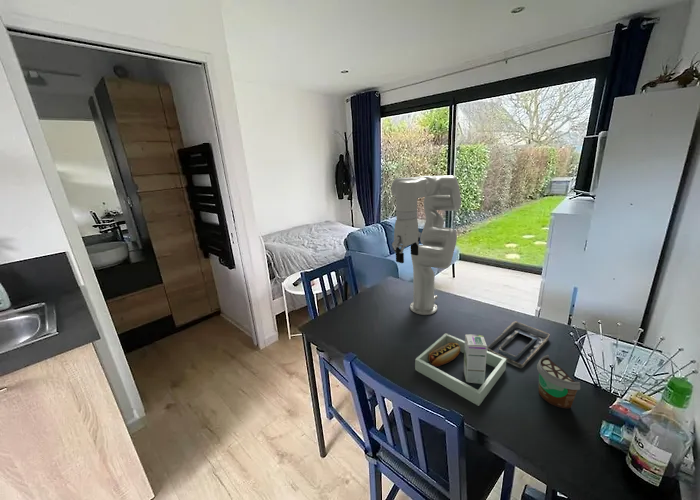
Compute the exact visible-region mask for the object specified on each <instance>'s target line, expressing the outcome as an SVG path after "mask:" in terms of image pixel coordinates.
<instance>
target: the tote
mask: <svg viewBox="0 0 700 500" xmlns="http://www.w3.org/2000/svg"><path fill="white" fill-rule="evenodd" d="M448 343H458V344H459V347H460V353H463V354H464V348H465V340H463V339H461V338H458V337H457V336H453V335H451V334H449V333H444V334H443V335H441V337H439V338H438V339H437V340H436V341H435V342H433V343H432V344H431V345H430V346H428V348H426V349H425V350H424V351H423V352H422V353H421V354H420V355H418V356H417V357H416V358H415V359H414V360H415V362H414V368H415V369H414V371H416V372H418V373H419V374H422V375H423V376H425V377H427V378H429V379H430V380H432V381H433V382H436V383H437V384H439V385H442V386H443V387H444V388H446V389H448V390H450V391H451V392H453V393H455V394H457V395H459V396H460V397H462V398H464V399H466V400H467V401H469V402H470V403H473V404H474V405H476V406H477V407H478V406H481V404H482V402H483V401H484V400H485V398H486V397H487V395H489V393H490V392H491V390H492V389H493V387H494V386H495V385H496V383H497V382H498V381H499V380H500V378H501V377H502V376H503V374H504V373H505V371H506V369H507V368H506V367H507V362H506V360H507V359H506V358H507V357H506V358H503V357H501V356H499V355H496V354H494V353H491V352H489V351H488V350H487V354H486V365H488V366H491V367H493V368H494V369H493V370H492V372H491V373H490V374H489V375H488V377H487V378H486V379H485V381H484V383H483V384H481V386H480V387H479V388H478V389H477V388H476V387H473V386H472V385H469V384H467V382H464V381H462V380H460V379H458V378H456V377H454V376H452V375H451V374H449V373H447V372H445V371H444V370H441V369H440V368H437V366H433V365H432V364H431V363H429V362H430V361H429V354H430V353H431V352H433V351H435V350H437V349H439V348H440V347H442V346H444V345H446V344H448Z"/></svg>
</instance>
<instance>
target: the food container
mask: <svg viewBox="0 0 700 500" xmlns="http://www.w3.org/2000/svg"><path fill="white" fill-rule="evenodd" d="M536 369H537V371H538V373H539V374H538V393H539V396H540V397H541V398H542V399H543V400H544V401H546V402H547V403H548V404H550V405H552V406H555V407H556V408H557V407H558V408H561V409H571V408H572V406H573V403H574V400H575V399H576V394H577V393H578V391H580V390H581V381H575V380H574V379H573V378H571V376H569V374H568V373H567V372H566V371H565V370H564V369H563V368H562V367H561V366H559V365H557V364H556V363H555V362H553V361H552V360H551V359H550V355H549V354H547V355H544V356H542V357H541V358H540V359H539V360H538V363H537V364H536Z"/></svg>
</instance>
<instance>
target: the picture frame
mask: <svg viewBox="0 0 700 500" xmlns="http://www.w3.org/2000/svg"><path fill="white" fill-rule="evenodd" d="M516 328H517V329H518V330H515V329H516ZM513 330H514V332H513ZM521 330H522V331H525V332H526V333H527V334H526V333H523V332H519V331H521ZM511 332H513V333H512V334H510V333H511ZM519 334H521V335H523V336H526V337H528V338H530V339H531V340H530V341H529V343H528V344H526V345H525V346H524V348H522V350H520V351H519V353H517V355H514V354H512V353H509V352H507V351H505V350H503V349H504V348H505V347H507V345H508V344H510V343H511V342H512V341H513V340H514V339H515V337H517V336H518V335H519ZM528 334H529V335H528ZM507 335H508V336H507ZM550 335H551V334H550V333H548V332H546V331H543V330H541V329H537V328H535V327H533V326H529V325H527V324H525V323H522V322H518V321H516V320H514V321H513V322H511V323H510V325H508V326H507V327H506V328H505V329H504V330H503V332H502V333H501V335H500V334H499V336H498V337H496V338H495V339H494V340H493V342H492V343H490V344H488V345H487V351H489V352H491V353H494V354H496V355H499V356H501V357H503V358H506V359H507V360H506V363H508V364H511V365H512V366H514V367H516V368H519V369H522V368H524V367H525V366H526V365H527V364H528V362H529V361H531V359H533V357H534V356H535V355H536V354H537V353H538V352H539V351H540V350H541V349H542V348H543V346H544V345H545V344H546V343H547V342H548V341H549V337H550ZM534 336H535V337H534ZM504 338H505V339H504ZM538 339H540V341H537V340H538ZM501 340H502V341H501ZM499 342H501V344H498V343H499ZM536 342H537V345H534V346H533V348H535V349H530V350H529V348H531V346H532V345H533V344H534V343H536ZM496 345H498V348H497V349H496V350H498V352H495V351H494V350H492V348H494V347H495V346H496ZM527 350H529V352H530V355H529V356H527V357H526V359H525V361H524V362H523V363H522V364H521V363H520V362H517V360H519V358H520V357H521V356H522V355H523V354H525V352H526V351H527ZM523 357H524V358H525V355H524V356H523Z"/></svg>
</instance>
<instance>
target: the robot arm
mask: <svg viewBox="0 0 700 500" xmlns="http://www.w3.org/2000/svg"><path fill="white" fill-rule="evenodd" d="M390 191H391V193H392V195H393V196H394V197H395V198H396V199H395V205H396V206H395V207H396V208H395V209H396V212H395V213H396V219H395V223H394V231H393V242H392V243H391V246H392V248H393V249H392V250H393V251H394V253H395V262H397V263H399V264H404V263H405V259H404V258H405V254H404V250H405V248H406V247H408V246H410V257H411V263H412V270H413V272H412V275H413V276H412V277H413V279H412V281H413V282H412V283H413V286H412V287H413V289H412V290H413V291H412V293H413V294H412V297H413V298H412V300H413V301H412V302H411V303H410V305H409V309H410V311H412V312H413V313H414V314H417V315H421V316H427V315H428V316H429V315H433V314H435V313H436V312H437V311H438V305H437V304H436V303H435V301H436V300H438V299H439V296H438V295H437V294H435V272H434V270H433V268H435V269H442V270H443V269H444V270H445V269H448V268H449V267H450V266H451V265H452V264H451V263H452V261H453V256H454V253H455V249H456V245H457V241H458V239H457V238H458V237H457V231H456V230H455V229H454V228H452V227H445V226H444V225H445V221H444V219H443V217H442V215H441V214H440V213H439V212H438V211H444V212H445V211H448V212H450V211H452V212H453V211H457V210H459V209H460V207H461V206H462V205H461V204H462V197H461V191H460V186H459V182H458V179H457V178H456V177H455V176H454V175H451V174H449V175H420V176H419V175H418V176H413V177H412V176H411V177H410V176H409V177H408V176H407V177H396V178H395V179H394V180H393V181H392V182H391V190H390ZM418 199H423V209H424V215H425V222H424V225H423V229H422V232H420V231H419V222H418V221H419V220H418ZM420 243H421V244H420Z"/></svg>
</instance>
